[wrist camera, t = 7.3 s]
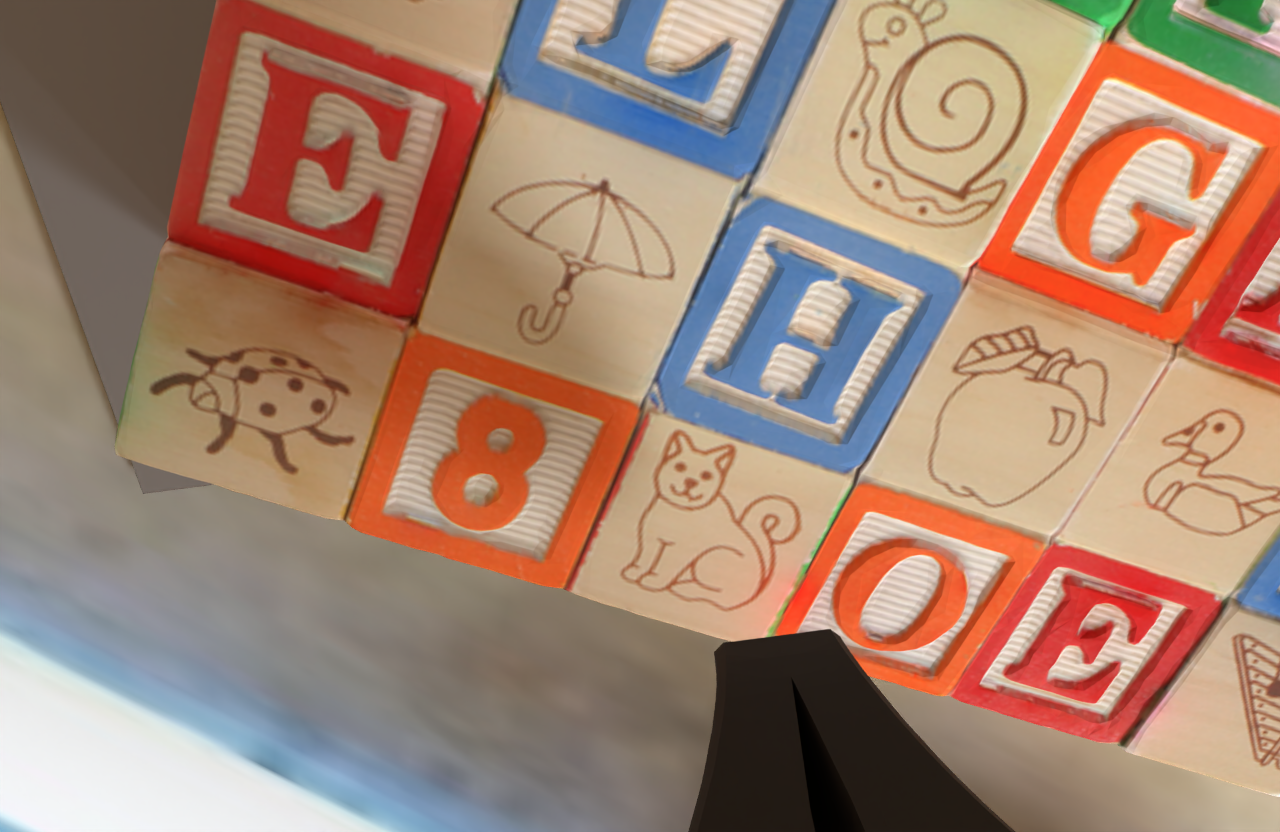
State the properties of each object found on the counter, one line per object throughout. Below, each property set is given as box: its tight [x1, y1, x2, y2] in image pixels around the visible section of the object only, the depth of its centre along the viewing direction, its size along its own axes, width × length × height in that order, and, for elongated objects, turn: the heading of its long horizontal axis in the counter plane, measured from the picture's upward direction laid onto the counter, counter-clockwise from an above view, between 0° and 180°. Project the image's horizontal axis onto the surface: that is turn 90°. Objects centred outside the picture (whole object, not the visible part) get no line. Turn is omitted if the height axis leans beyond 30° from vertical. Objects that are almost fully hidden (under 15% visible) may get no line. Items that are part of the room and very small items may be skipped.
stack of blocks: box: [115, 0, 1280, 797], centre depth 17 cm, size 21×6×12 cm
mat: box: [0, 0, 216, 494], centre depth 19 cm, size 12×21×1 cm, turn 97°
